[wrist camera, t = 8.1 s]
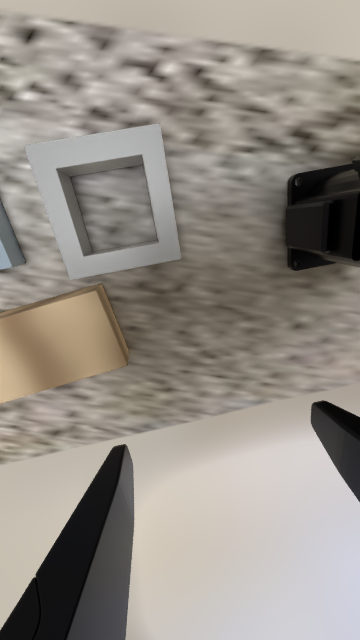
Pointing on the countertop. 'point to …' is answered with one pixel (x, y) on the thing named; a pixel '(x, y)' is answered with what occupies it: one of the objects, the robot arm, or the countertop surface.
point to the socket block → (95, 156)
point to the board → (58, 342)
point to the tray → (8, 243)
